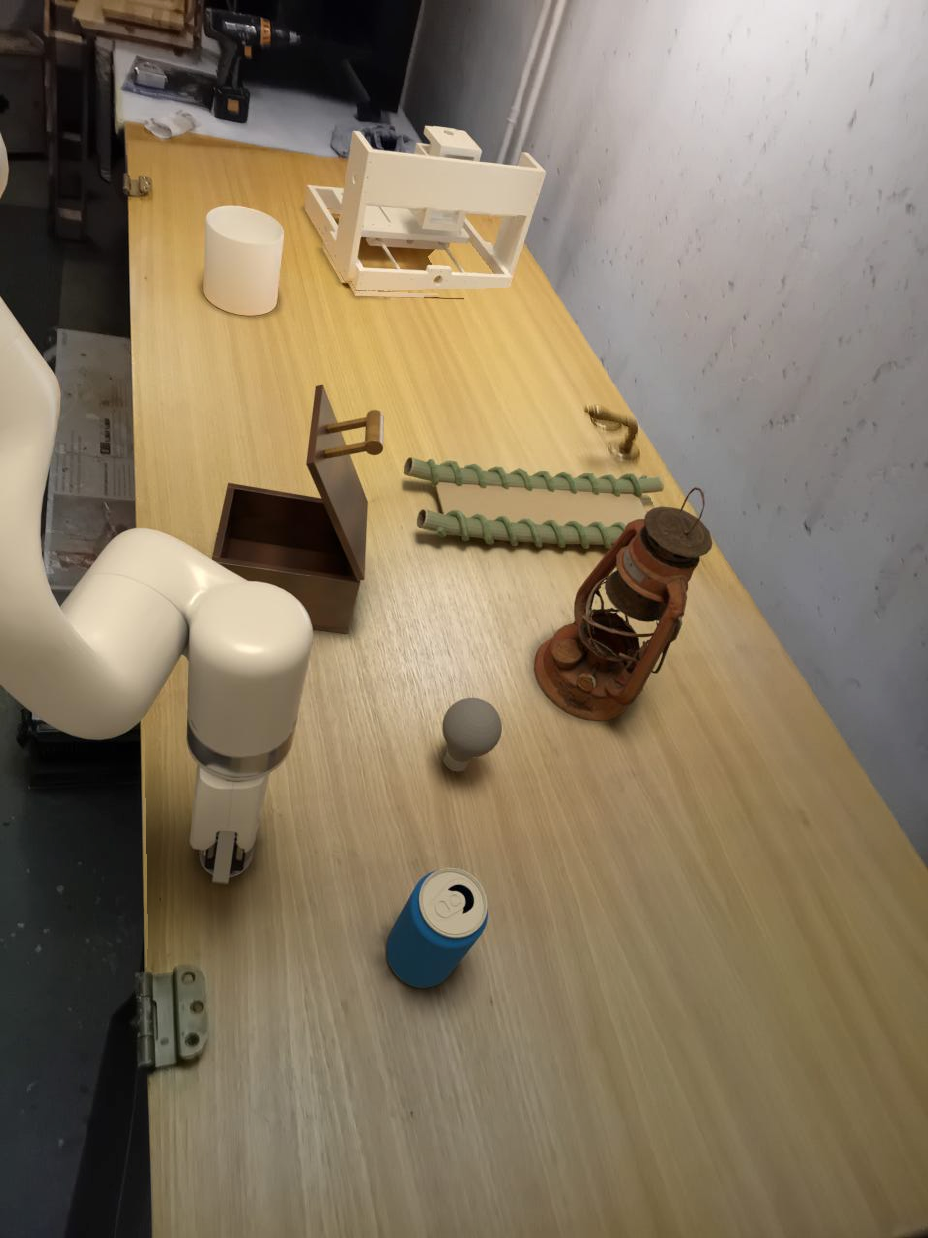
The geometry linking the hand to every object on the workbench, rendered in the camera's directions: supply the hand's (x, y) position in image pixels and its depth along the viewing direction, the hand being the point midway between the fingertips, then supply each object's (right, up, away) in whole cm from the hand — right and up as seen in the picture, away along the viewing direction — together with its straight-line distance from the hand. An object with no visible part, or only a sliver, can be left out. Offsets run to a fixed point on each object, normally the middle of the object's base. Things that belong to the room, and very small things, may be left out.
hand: (228, 836), depth 72 cm
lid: (+7, +33, +14) cm, 37 cm away
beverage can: (+17, -11, +2) cm, 20 cm away
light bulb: (+20, +4, +16) cm, 25 cm away
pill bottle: (-1, -3, +3) cm, 4 cm away
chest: (-1, +23, +25) cm, 34 cm away
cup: (-16, +72, +63) cm, 97 cm away
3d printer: (+9, +90, +88) cm, 126 cm away
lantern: (+35, +12, +29) cm, 47 cm away
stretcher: (+32, +33, +46) cm, 65 cm away
